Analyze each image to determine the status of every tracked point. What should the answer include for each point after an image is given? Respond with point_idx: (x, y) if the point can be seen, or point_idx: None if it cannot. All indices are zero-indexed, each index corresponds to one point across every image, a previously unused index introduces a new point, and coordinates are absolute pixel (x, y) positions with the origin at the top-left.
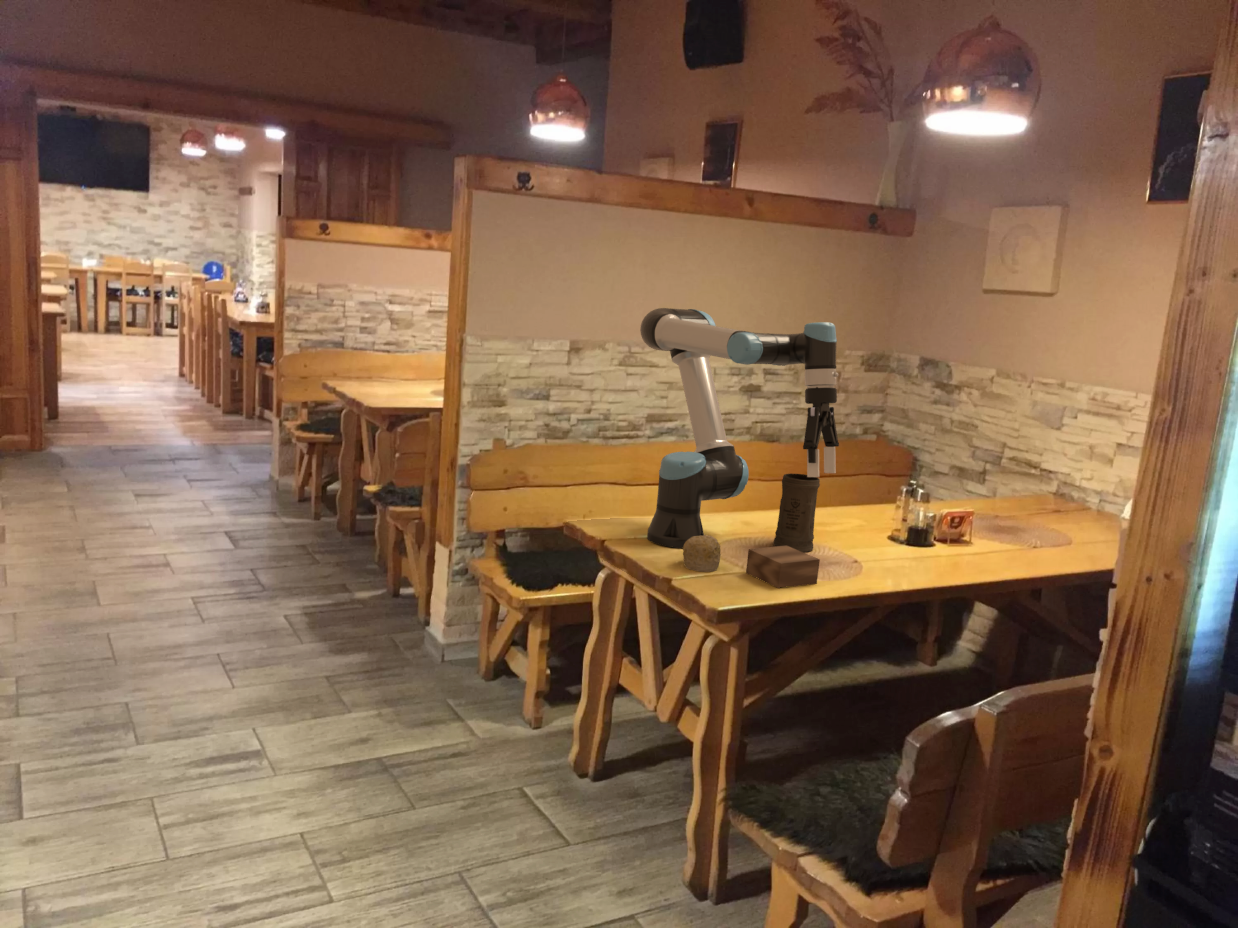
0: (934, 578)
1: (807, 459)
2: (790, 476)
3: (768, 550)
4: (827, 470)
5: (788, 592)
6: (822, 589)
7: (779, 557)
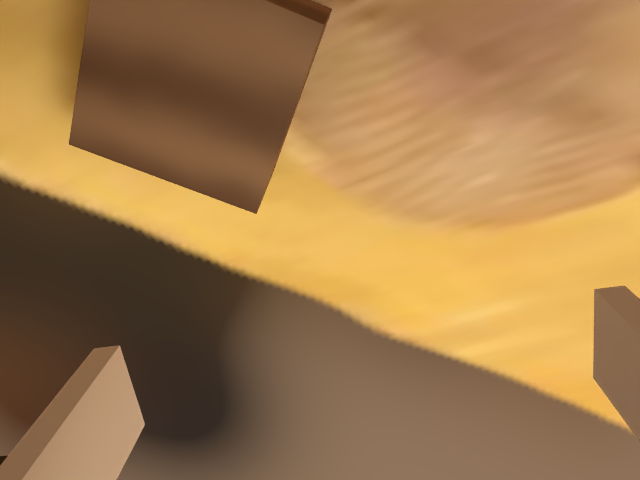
0: None
1: (12, 456)
2: None
3: (171, 12)
4: (603, 332)
5: None
6: (233, 211)
7: (128, 100)
